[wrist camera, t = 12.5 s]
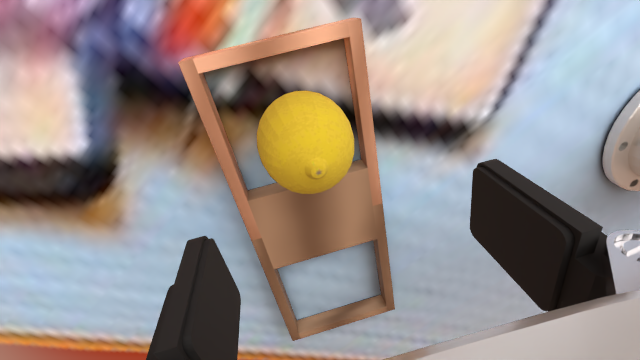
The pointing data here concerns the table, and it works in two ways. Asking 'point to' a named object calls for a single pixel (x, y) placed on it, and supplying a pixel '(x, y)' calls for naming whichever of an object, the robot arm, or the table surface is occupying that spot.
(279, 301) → the wooden frame
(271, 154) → the lemon
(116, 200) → the table surface
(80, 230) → the table surface
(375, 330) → the table surface
